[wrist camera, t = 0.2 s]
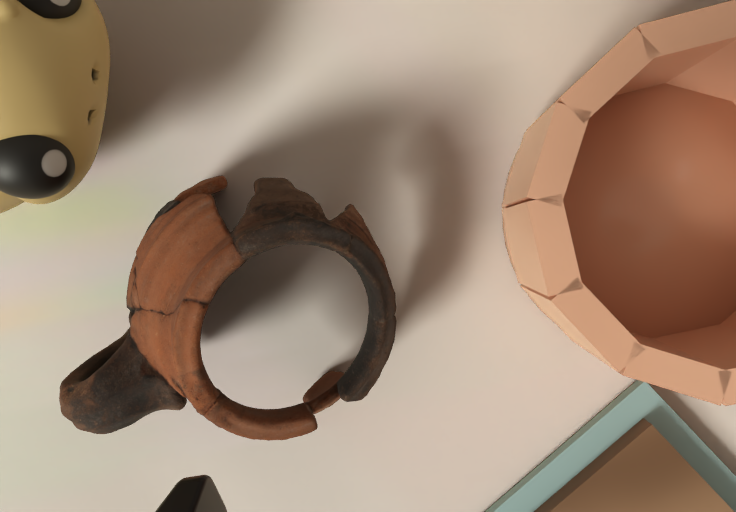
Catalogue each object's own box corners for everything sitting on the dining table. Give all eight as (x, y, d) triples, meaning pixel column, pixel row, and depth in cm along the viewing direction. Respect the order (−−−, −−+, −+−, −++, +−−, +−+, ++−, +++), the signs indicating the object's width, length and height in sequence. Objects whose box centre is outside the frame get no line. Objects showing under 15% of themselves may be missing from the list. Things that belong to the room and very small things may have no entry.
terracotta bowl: (865, 218, 21) (1040, 211, 15) (638, 413, 22) (719, 478, 16) (658, 6, 22) (749, -81, 16) (443, 207, 23) (452, 197, 17)
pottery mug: (261, 117, 24) (325, 125, 16) (375, 283, 28) (467, 349, 20) (6, 299, 22) (-51, 401, 14) (170, 450, 26) (190, 590, 18)
